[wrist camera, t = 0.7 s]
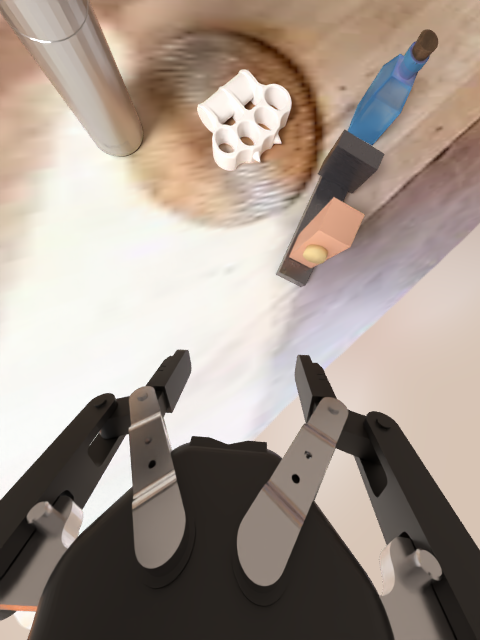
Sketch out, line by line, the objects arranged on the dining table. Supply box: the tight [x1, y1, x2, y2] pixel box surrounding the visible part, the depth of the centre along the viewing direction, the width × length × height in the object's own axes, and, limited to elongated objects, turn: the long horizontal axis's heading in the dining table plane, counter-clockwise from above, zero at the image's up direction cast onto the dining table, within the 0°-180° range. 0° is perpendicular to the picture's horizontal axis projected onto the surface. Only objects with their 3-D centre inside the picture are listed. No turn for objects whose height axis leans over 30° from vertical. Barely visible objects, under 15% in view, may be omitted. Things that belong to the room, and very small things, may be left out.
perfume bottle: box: [348, 30, 438, 145], centre depth 33 cm, size 6×6×12 cm
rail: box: [276, 130, 384, 287], centre depth 34 cm, size 24×8×8 cm, turn 155°
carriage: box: [289, 197, 365, 268], centre depth 30 cm, size 6×5×11 cm
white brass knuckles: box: [197, 69, 292, 171], centre depth 35 cm, size 3×18×15 cm
